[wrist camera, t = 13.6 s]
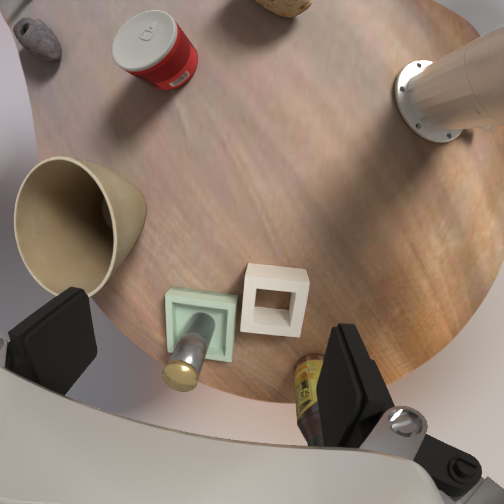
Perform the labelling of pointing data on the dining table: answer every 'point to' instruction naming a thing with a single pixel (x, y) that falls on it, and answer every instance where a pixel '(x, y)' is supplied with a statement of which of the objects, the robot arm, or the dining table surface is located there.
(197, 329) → the pin
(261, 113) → the dining table surface
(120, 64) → the canned food
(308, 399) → the sauce bottle
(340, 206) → the dining table surface
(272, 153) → the dining table surface
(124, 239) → the plant pot
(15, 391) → the robot arm
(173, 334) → the tray
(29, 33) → the perforated stone tool
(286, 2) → the tan ring
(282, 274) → the socket block
